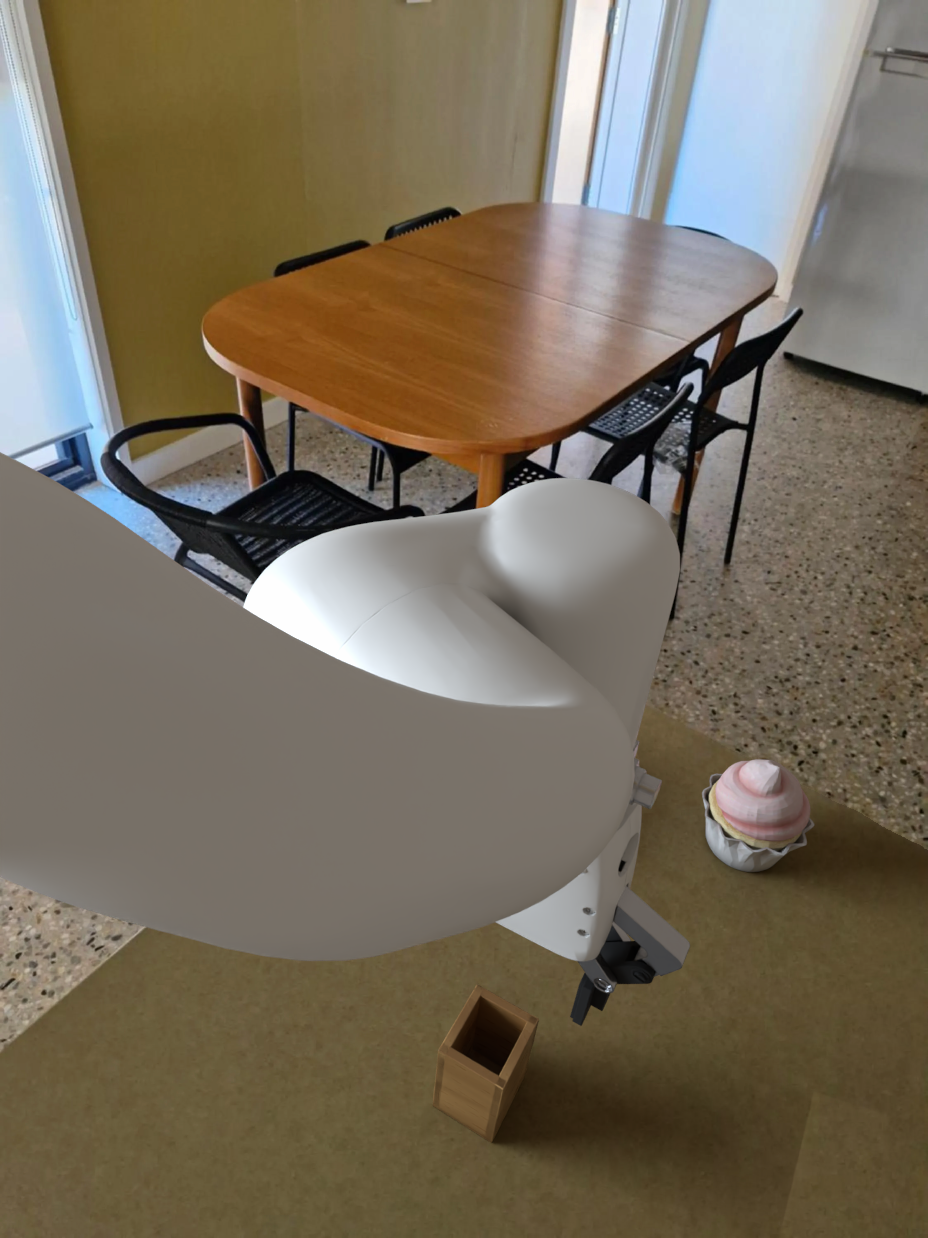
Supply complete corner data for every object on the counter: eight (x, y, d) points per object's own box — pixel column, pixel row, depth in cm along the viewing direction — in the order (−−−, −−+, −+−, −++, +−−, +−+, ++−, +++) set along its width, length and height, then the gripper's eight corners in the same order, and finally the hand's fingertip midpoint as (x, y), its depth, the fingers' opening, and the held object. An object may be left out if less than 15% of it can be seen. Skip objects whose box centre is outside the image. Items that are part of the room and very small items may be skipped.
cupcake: (795, 904, 73) (836, 828, 67) (682, 870, 75) (711, 793, 69) (798, 818, 80) (835, 742, 74) (694, 789, 82) (722, 713, 76)
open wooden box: (491, 1144, 57) (503, 1090, 52) (431, 1106, 59) (437, 1050, 54) (525, 1075, 61) (539, 1018, 56) (468, 1041, 62) (476, 983, 57)
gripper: (759, 777, 38) (676, 978, 49) (417, 635, 44) (411, 842, 55) (707, 910, 33) (627, 1102, 44) (328, 728, 39) (341, 937, 50)
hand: (507, 957), depth 50 cm, fingers open, 9 cm apart
